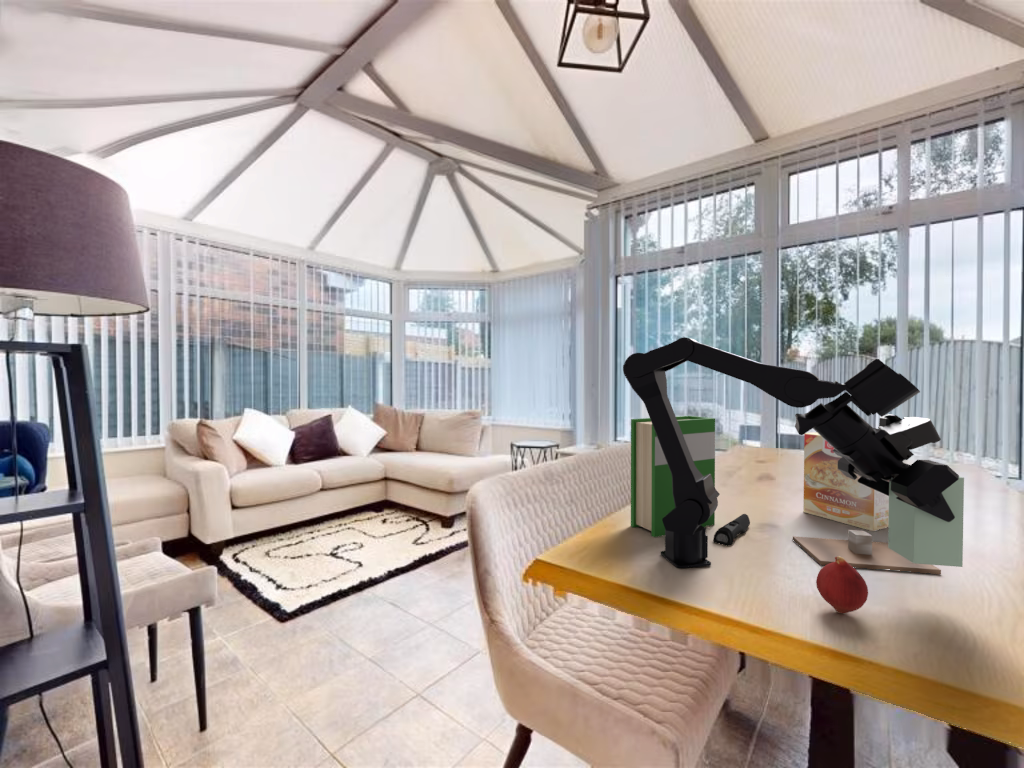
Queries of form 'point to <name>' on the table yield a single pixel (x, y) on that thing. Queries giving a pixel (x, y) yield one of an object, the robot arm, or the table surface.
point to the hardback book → (665, 469)
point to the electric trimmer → (732, 530)
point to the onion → (842, 586)
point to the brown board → (860, 553)
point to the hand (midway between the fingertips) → (935, 513)
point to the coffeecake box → (839, 490)
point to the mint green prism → (928, 530)
